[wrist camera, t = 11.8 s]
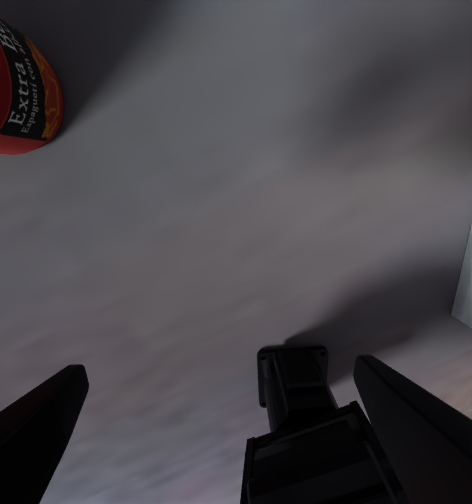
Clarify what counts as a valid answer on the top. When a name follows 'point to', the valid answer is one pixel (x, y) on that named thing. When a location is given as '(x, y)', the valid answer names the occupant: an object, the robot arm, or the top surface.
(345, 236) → the top surface
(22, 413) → the robot arm
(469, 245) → the tray
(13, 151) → the canned food
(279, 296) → the top surface
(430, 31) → the top surface
